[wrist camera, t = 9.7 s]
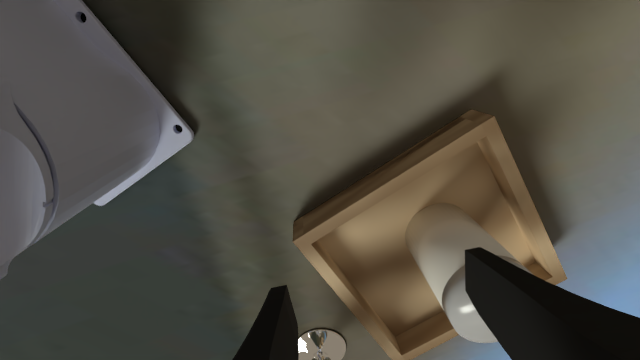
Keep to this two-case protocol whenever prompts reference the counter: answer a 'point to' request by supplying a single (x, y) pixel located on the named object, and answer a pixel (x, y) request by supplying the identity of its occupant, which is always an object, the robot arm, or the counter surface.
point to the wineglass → (321, 345)
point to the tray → (394, 216)
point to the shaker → (452, 262)
